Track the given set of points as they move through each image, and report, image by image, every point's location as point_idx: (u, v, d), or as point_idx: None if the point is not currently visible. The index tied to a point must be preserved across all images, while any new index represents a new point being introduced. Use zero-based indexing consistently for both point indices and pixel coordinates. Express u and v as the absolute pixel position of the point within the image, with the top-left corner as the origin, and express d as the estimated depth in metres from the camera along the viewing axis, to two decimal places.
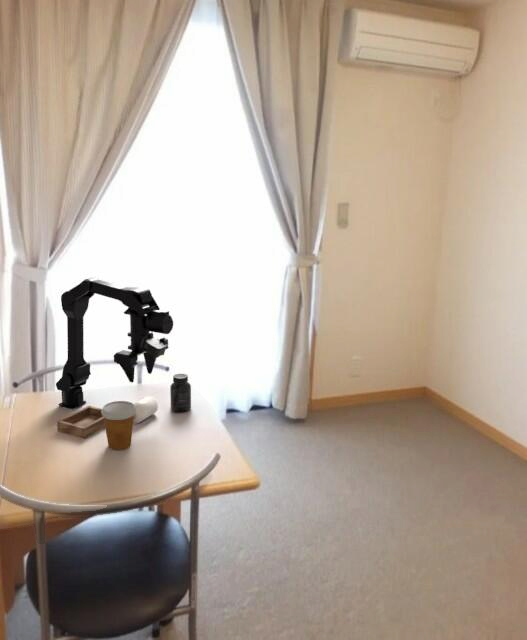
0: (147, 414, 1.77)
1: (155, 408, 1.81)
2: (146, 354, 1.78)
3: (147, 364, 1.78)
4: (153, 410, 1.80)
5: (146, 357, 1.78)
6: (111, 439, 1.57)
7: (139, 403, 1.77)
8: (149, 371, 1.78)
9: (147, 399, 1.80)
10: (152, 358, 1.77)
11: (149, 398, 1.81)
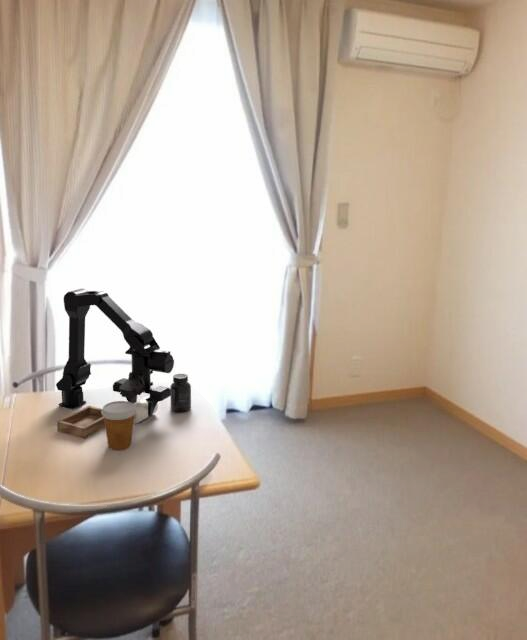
0: (147, 414, 1.77)
1: (155, 408, 1.81)
2: None
3: None
4: None
5: None
6: (111, 439, 1.57)
7: (139, 403, 1.77)
8: None
9: None
10: None
11: None
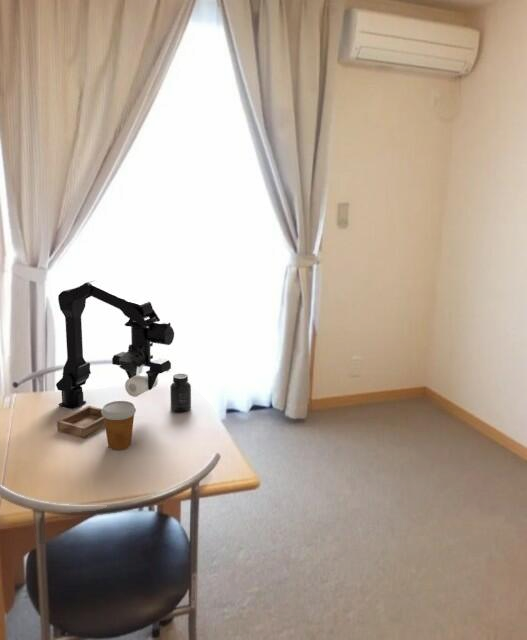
0: (147, 387, 1.75)
1: (155, 382, 1.79)
2: None
3: None
4: None
5: None
6: (111, 439, 1.57)
7: (139, 376, 1.74)
8: None
9: None
10: None
11: None
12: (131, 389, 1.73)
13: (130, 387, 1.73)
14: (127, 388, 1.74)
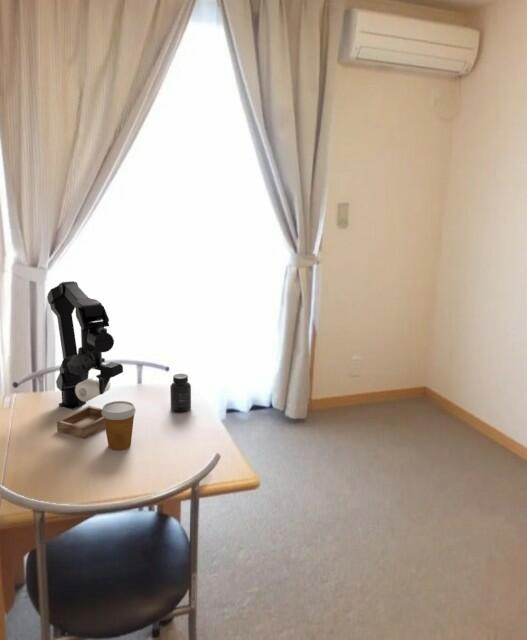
0: (98, 391, 1.69)
1: (107, 386, 1.72)
2: None
3: None
4: (106, 388, 1.72)
5: None
6: (111, 439, 1.57)
7: (90, 380, 1.68)
8: None
9: None
10: None
11: None
12: (81, 394, 1.66)
13: (80, 392, 1.66)
14: (77, 393, 1.67)
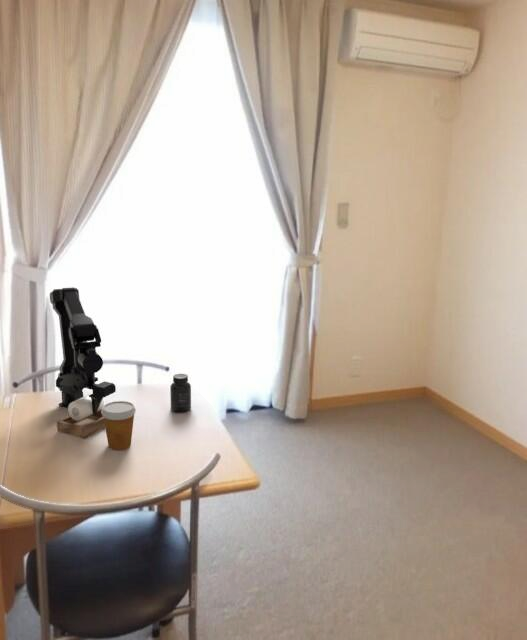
0: (91, 411, 1.69)
1: (101, 405, 1.73)
2: None
3: None
4: (99, 407, 1.72)
5: None
6: (111, 439, 1.57)
7: (82, 399, 1.69)
8: None
9: None
10: None
11: None
12: (74, 413, 1.67)
13: (73, 411, 1.67)
14: (70, 412, 1.68)
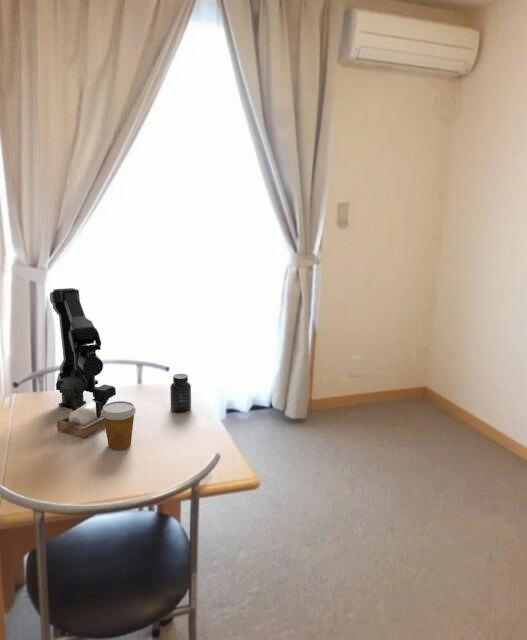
0: (91, 420, 1.70)
1: (101, 414, 1.73)
2: None
3: None
4: None
5: None
6: (111, 439, 1.57)
7: (83, 408, 1.69)
8: None
9: (93, 404, 1.73)
10: None
11: (95, 403, 1.74)
12: (74, 422, 1.68)
13: (73, 420, 1.68)
14: (71, 421, 1.69)
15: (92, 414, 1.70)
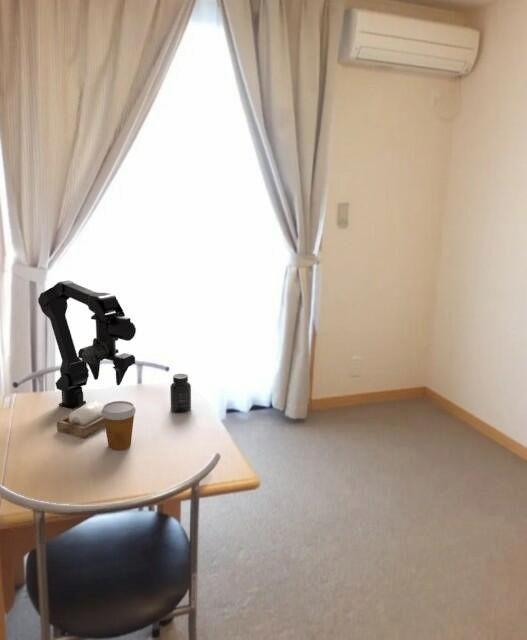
0: (92, 420, 1.70)
1: (101, 414, 1.73)
2: None
3: None
4: (99, 416, 1.73)
5: None
6: (111, 439, 1.57)
7: (83, 409, 1.69)
8: None
9: (93, 404, 1.73)
10: None
11: (95, 403, 1.74)
12: (74, 422, 1.68)
13: (73, 420, 1.68)
14: (71, 421, 1.69)
15: (92, 414, 1.70)
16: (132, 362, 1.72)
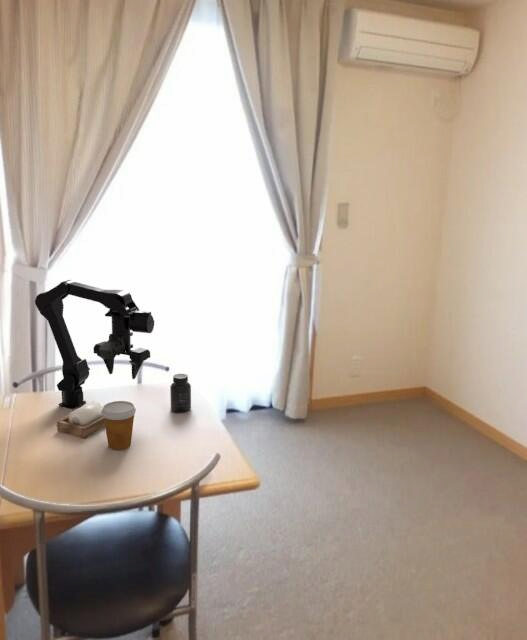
0: (91, 420, 1.70)
1: (101, 414, 1.73)
2: None
3: None
4: (99, 416, 1.73)
5: None
6: (111, 439, 1.57)
7: (83, 408, 1.69)
8: None
9: (92, 404, 1.73)
10: None
11: (95, 403, 1.74)
12: (74, 422, 1.68)
13: (73, 420, 1.68)
14: (71, 421, 1.69)
15: (92, 414, 1.70)
16: (147, 356, 1.78)
